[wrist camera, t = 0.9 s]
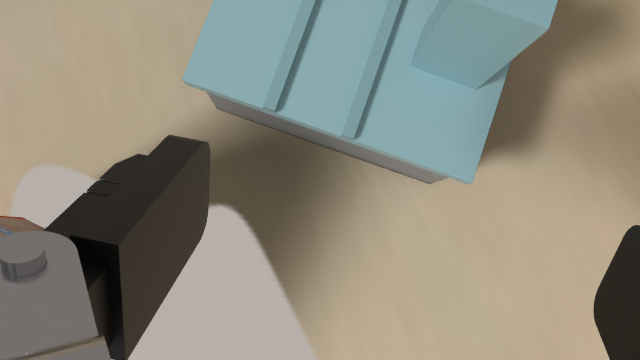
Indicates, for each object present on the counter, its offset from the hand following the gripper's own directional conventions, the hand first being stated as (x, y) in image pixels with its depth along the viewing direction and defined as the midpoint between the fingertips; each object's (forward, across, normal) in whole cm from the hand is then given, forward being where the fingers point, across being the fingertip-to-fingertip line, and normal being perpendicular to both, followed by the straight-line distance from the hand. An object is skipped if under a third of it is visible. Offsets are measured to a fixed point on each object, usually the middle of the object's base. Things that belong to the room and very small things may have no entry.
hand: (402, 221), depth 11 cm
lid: (+19, +2, +2) cm, 19 cm away
